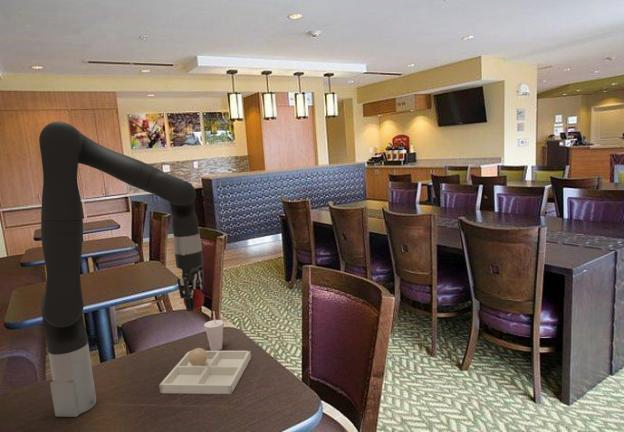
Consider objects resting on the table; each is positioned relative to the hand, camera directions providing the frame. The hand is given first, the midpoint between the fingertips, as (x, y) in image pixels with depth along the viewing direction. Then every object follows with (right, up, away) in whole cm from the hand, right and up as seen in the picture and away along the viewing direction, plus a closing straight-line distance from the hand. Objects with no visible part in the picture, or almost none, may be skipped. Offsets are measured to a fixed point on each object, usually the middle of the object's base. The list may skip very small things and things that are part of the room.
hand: (194, 305), depth 125 cm
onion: (0, -2, 0) cm, 2 cm away
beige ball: (-1, -20, +8) cm, 22 cm away
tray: (+4, -21, +2) cm, 22 cm away
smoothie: (+2, -19, +19) cm, 27 cm away
